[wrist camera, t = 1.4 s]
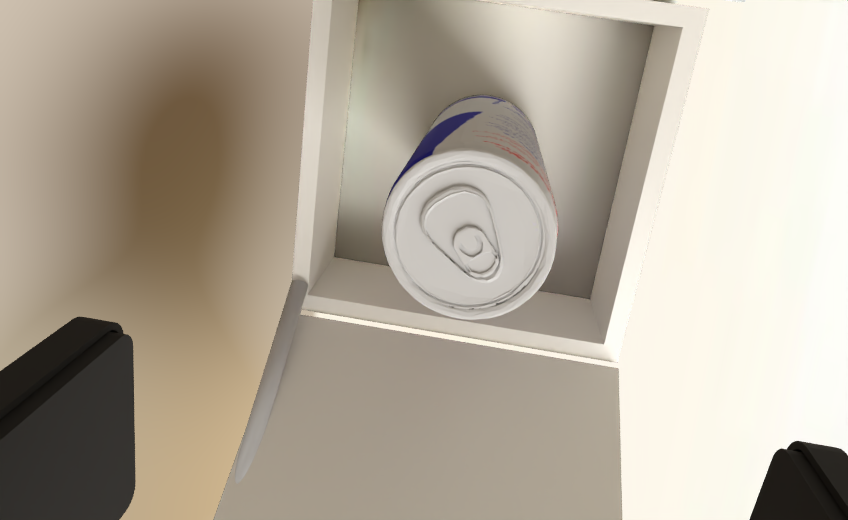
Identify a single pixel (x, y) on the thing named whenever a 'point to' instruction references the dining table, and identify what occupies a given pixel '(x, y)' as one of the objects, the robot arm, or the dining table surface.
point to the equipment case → (446, 359)
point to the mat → (737, 0)
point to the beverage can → (473, 213)
